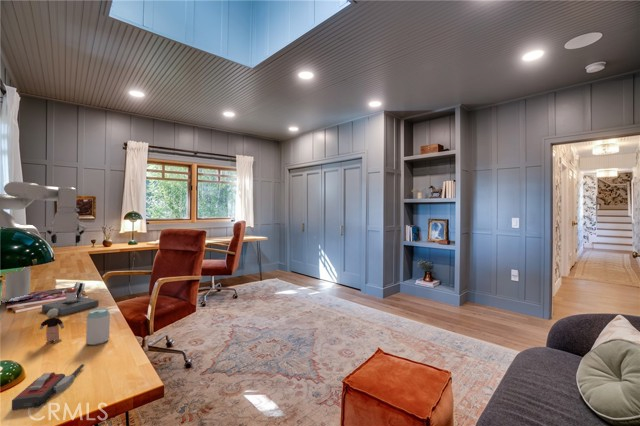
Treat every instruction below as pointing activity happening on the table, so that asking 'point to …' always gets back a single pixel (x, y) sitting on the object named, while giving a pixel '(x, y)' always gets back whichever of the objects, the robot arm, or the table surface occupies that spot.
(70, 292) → the pin
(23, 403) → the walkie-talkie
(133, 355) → the table surface
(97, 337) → the can
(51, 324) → the grandmother figurine
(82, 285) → the grey curved electronic device
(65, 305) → the socket block
